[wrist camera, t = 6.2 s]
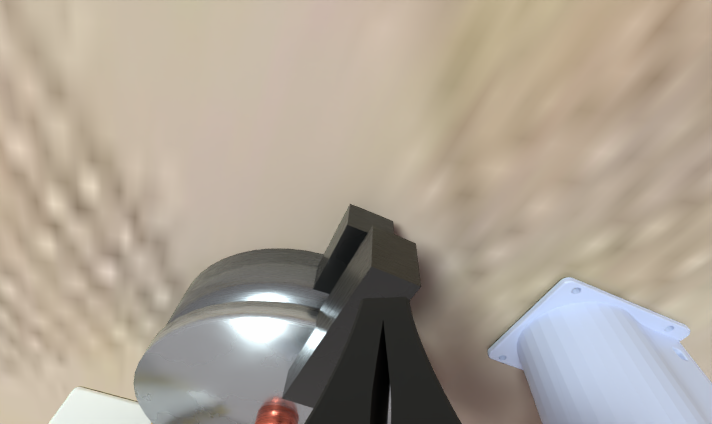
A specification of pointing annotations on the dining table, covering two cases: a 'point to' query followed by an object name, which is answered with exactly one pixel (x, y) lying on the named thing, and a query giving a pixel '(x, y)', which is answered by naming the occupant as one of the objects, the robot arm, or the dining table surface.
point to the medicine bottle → (98, 409)
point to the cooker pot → (282, 270)
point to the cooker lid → (266, 347)
